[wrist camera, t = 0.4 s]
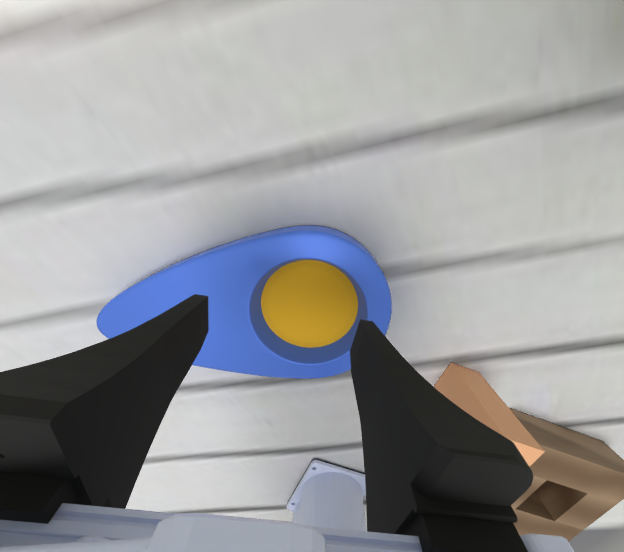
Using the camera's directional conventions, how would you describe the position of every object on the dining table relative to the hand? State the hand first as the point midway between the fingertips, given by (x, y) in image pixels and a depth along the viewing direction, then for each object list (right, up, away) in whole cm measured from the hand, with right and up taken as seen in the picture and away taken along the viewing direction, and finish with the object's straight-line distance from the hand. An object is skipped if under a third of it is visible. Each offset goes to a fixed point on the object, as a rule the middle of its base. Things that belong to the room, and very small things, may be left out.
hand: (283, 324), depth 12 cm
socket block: (+25, -19, +17) cm, 36 cm away
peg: (+16, -8, +14) cm, 22 cm away
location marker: (-5, 0, +12) cm, 13 cm away
